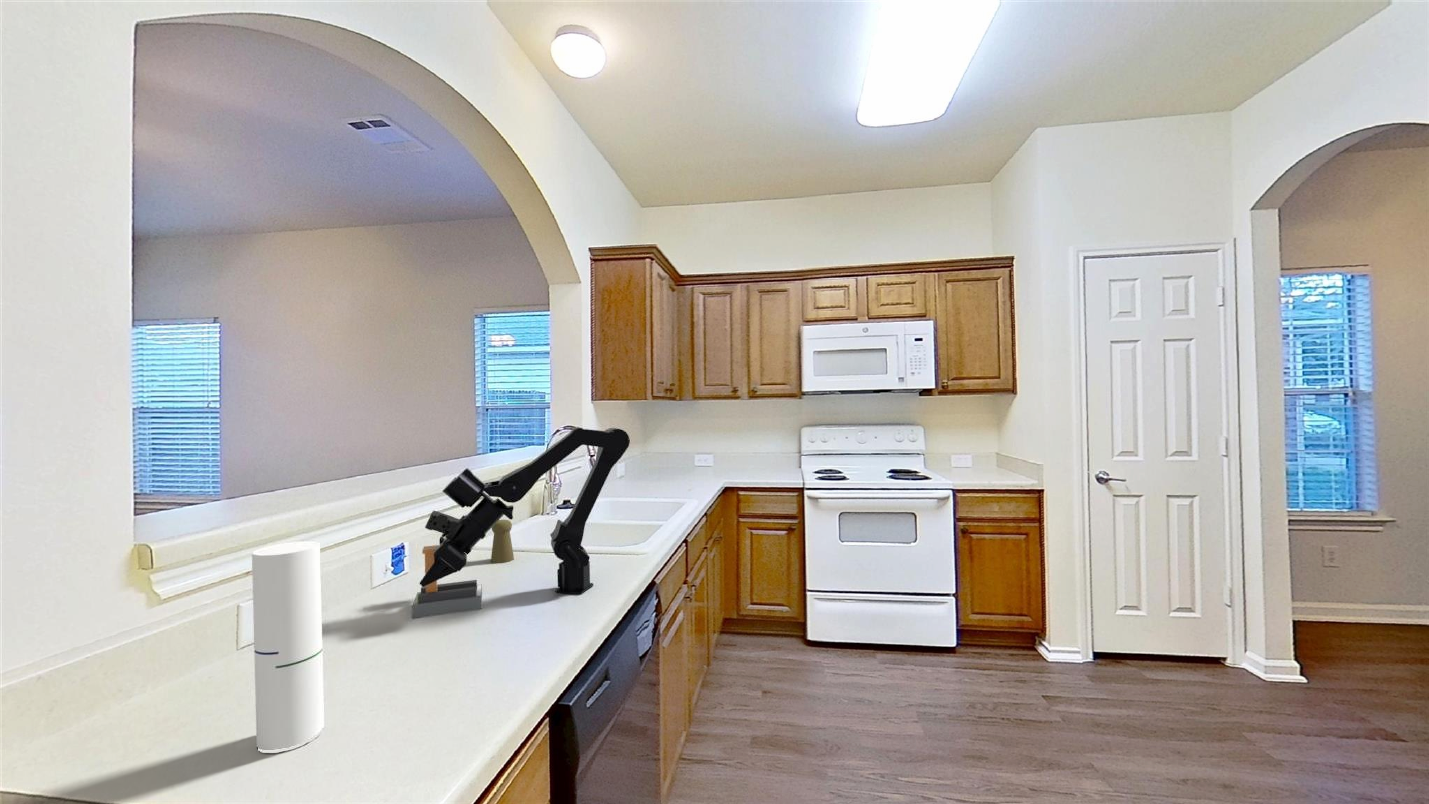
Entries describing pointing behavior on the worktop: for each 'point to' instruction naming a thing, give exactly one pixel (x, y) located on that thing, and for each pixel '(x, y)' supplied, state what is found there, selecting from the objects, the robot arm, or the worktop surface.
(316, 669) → the cylindrical container
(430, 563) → the handle
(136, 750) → the worktop surface
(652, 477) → the worktop surface
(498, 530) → the cork
